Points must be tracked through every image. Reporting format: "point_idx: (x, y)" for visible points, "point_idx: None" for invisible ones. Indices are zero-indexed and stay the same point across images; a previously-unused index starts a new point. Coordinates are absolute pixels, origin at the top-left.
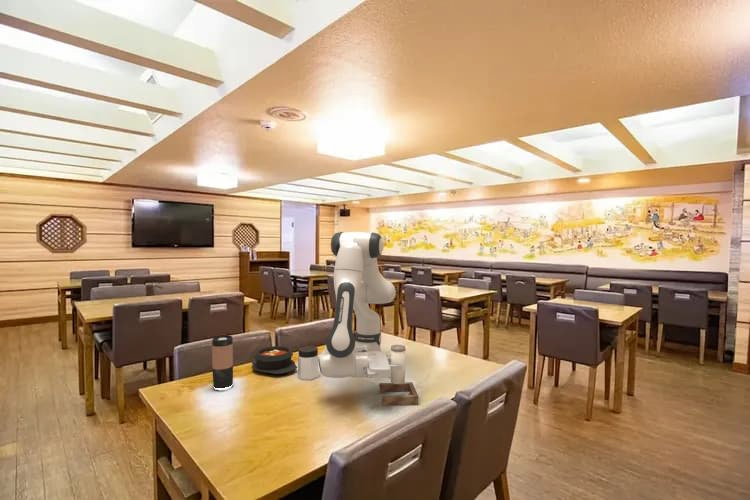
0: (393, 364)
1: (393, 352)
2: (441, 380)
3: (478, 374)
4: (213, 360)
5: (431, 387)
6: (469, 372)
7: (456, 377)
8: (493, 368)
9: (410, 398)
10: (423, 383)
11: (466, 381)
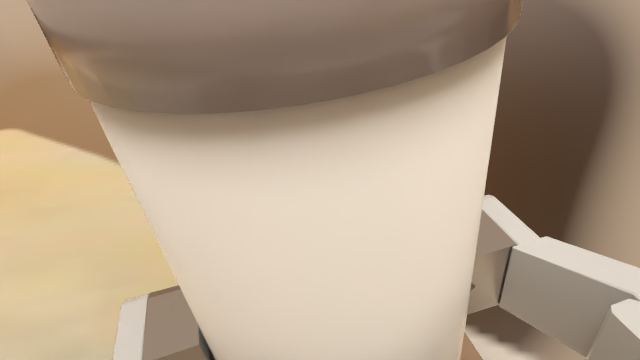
0: (460, 329)
1: (495, 86)
2: (70, 252)
3: (53, 153)
4: None
5: (160, 284)
6: (17, 174)
7: (54, 205)
8: (14, 129)
9: None
10: (85, 335)
11: (114, 174)
